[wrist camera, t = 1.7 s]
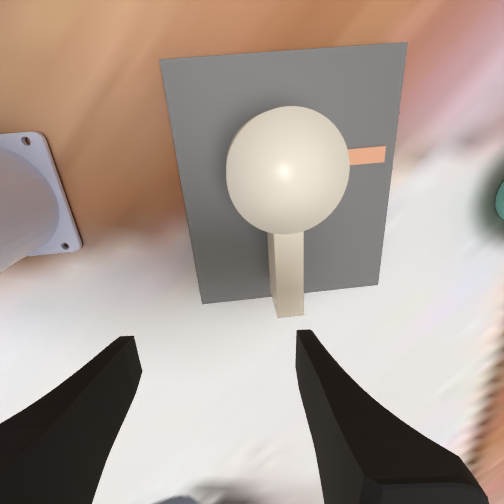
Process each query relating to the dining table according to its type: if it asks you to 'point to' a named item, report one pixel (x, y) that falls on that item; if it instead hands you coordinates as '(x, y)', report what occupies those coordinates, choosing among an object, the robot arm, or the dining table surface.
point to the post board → (264, 99)
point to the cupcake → (500, 201)
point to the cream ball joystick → (287, 188)
